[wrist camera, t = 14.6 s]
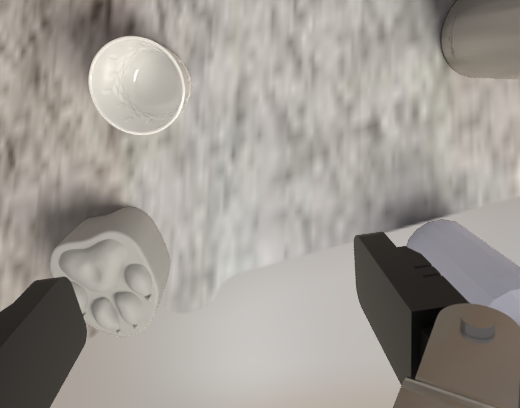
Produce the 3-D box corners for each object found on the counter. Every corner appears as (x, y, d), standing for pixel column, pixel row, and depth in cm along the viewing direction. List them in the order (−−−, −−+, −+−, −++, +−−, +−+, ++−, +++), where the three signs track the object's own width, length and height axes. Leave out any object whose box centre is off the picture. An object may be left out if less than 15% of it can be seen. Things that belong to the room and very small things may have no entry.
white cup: (115, 48, 40) (76, 42, 30) (190, 38, 40) (174, 29, 30) (133, 124, 42) (102, 140, 33) (203, 115, 42) (192, 128, 33)
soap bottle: (439, 200, 47) (619, 321, 25) (482, 247, 49) (681, 394, 27) (386, 247, 49) (508, 398, 26) (430, 289, 51) (576, 460, 29)
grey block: (147, 200, 45) (126, 229, 37) (184, 290, 50) (173, 333, 42) (66, 224, 46) (28, 257, 38) (110, 310, 50) (84, 357, 42)
